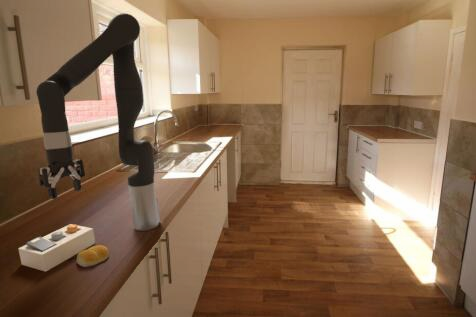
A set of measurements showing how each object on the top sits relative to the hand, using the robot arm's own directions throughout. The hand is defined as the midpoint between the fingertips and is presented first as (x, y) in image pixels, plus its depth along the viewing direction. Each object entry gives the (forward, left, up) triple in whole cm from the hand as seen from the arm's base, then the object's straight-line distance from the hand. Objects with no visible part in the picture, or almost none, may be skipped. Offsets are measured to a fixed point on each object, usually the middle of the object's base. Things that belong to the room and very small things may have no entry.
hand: (66, 194), depth 101 cm
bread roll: (+4, +13, -19) cm, 24 cm away
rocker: (+11, 0, -13) cm, 17 cm away
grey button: (+5, 0, -14) cm, 15 cm away
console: (+5, 0, -18) cm, 19 cm away
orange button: (0, 0, -14) cm, 14 cm away
